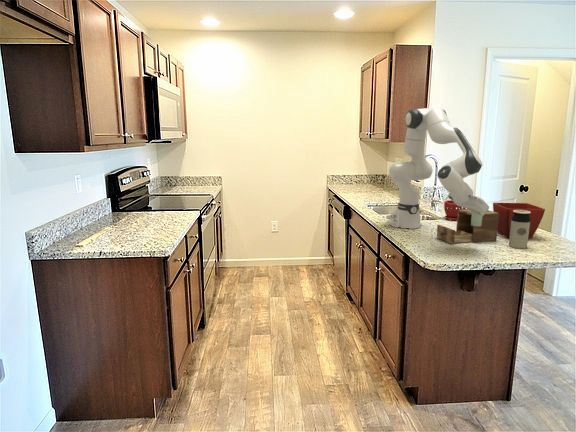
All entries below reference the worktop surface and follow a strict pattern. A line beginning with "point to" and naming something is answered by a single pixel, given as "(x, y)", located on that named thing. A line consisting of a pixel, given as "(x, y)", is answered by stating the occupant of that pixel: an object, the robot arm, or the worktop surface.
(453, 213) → the plant pot
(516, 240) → the travel mug
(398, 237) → the worktop surface
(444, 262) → the worktop surface
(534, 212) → the plant pot
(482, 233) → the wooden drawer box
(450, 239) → the wooden drawer
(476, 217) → the spice jar
